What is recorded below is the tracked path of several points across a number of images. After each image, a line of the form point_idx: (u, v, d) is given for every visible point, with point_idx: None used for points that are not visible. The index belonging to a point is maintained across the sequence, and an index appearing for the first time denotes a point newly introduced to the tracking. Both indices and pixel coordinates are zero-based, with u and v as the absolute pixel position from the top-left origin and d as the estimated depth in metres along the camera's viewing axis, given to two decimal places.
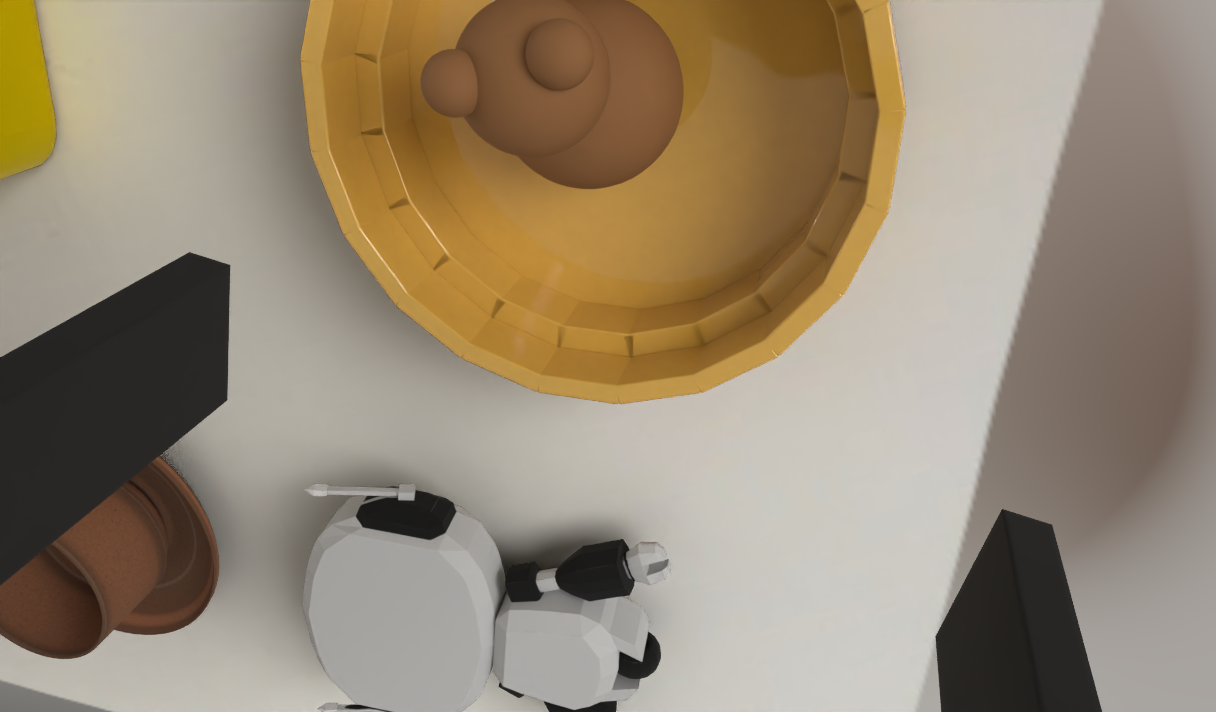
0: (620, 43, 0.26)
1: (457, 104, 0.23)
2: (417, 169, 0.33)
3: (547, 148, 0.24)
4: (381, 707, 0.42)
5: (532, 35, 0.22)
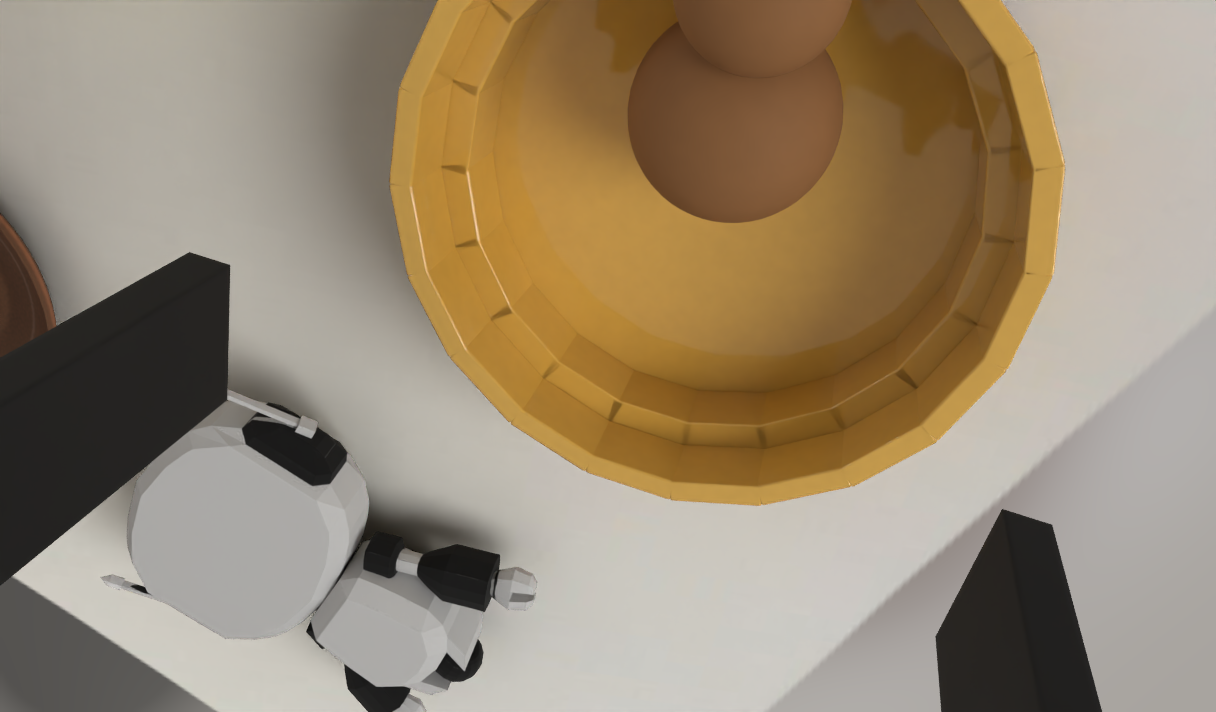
0: (823, 59, 0.24)
1: None
2: (485, 137, 0.29)
3: (756, 28, 0.20)
4: (174, 606, 0.39)
5: None
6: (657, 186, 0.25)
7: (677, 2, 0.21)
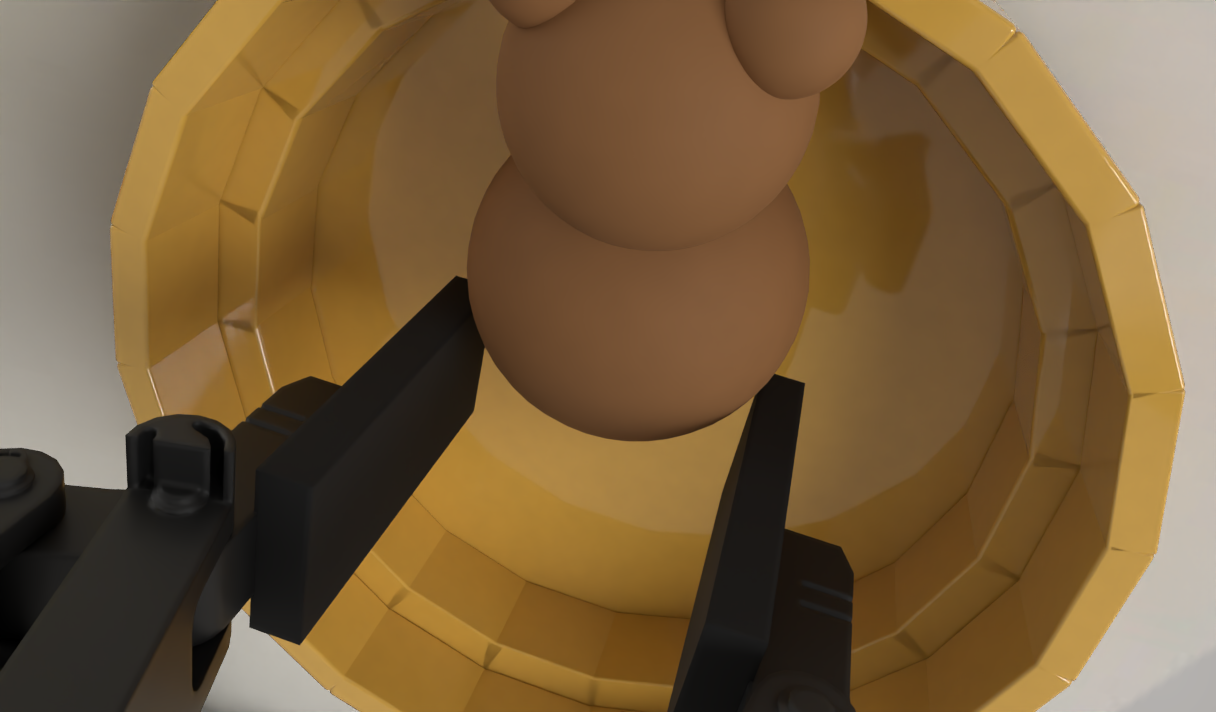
0: None
1: None
2: (290, 273, 0.20)
3: (633, 185, 0.11)
4: None
5: None
6: (514, 387, 0.16)
7: (502, 125, 0.12)
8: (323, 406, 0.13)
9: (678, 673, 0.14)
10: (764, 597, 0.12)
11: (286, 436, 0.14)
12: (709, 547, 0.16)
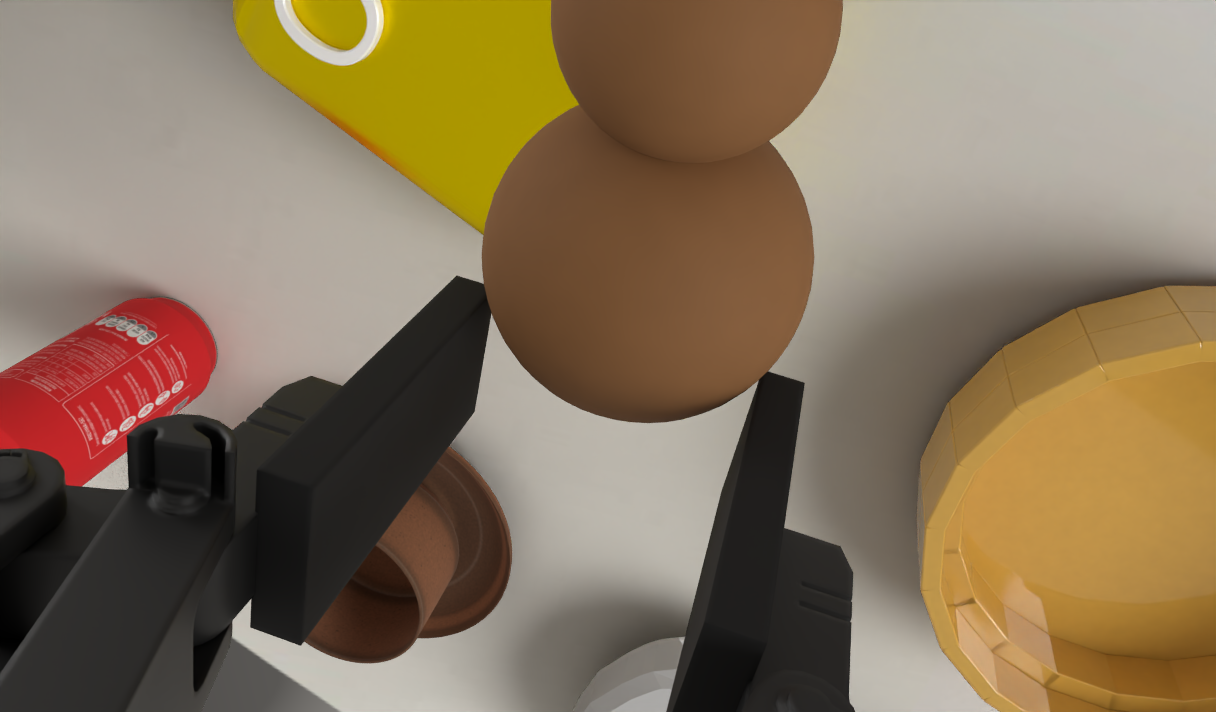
0: (784, 166, 0.15)
1: None
2: None
3: (689, 41, 0.12)
4: None
5: None
6: (524, 355, 0.16)
7: (557, 23, 0.13)
8: (324, 406, 0.13)
9: (677, 672, 0.14)
10: (763, 596, 0.12)
11: (287, 436, 0.14)
12: (708, 547, 0.16)
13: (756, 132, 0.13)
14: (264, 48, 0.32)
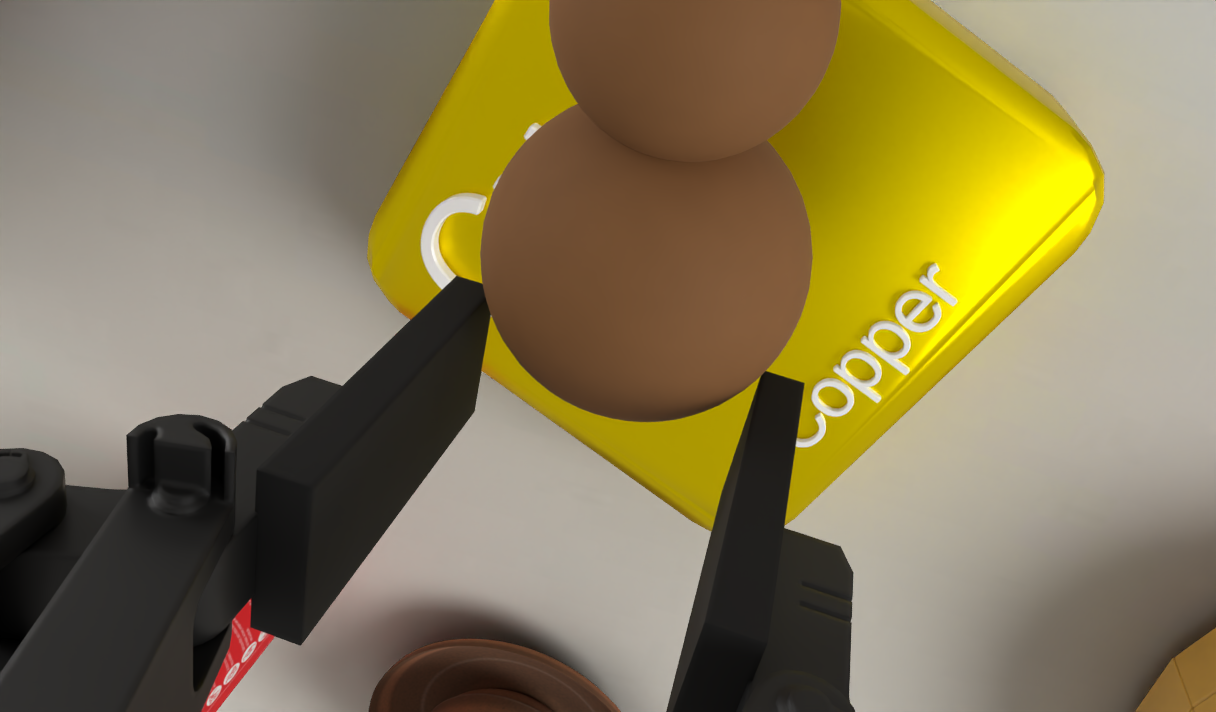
0: (783, 165, 0.15)
1: None
2: None
3: (687, 40, 0.12)
4: None
5: None
6: (522, 354, 0.16)
7: (555, 21, 0.13)
8: (324, 406, 0.13)
9: (678, 673, 0.14)
10: (763, 597, 0.12)
11: (286, 436, 0.14)
12: (708, 547, 0.16)
13: (754, 131, 0.13)
14: (404, 291, 0.28)
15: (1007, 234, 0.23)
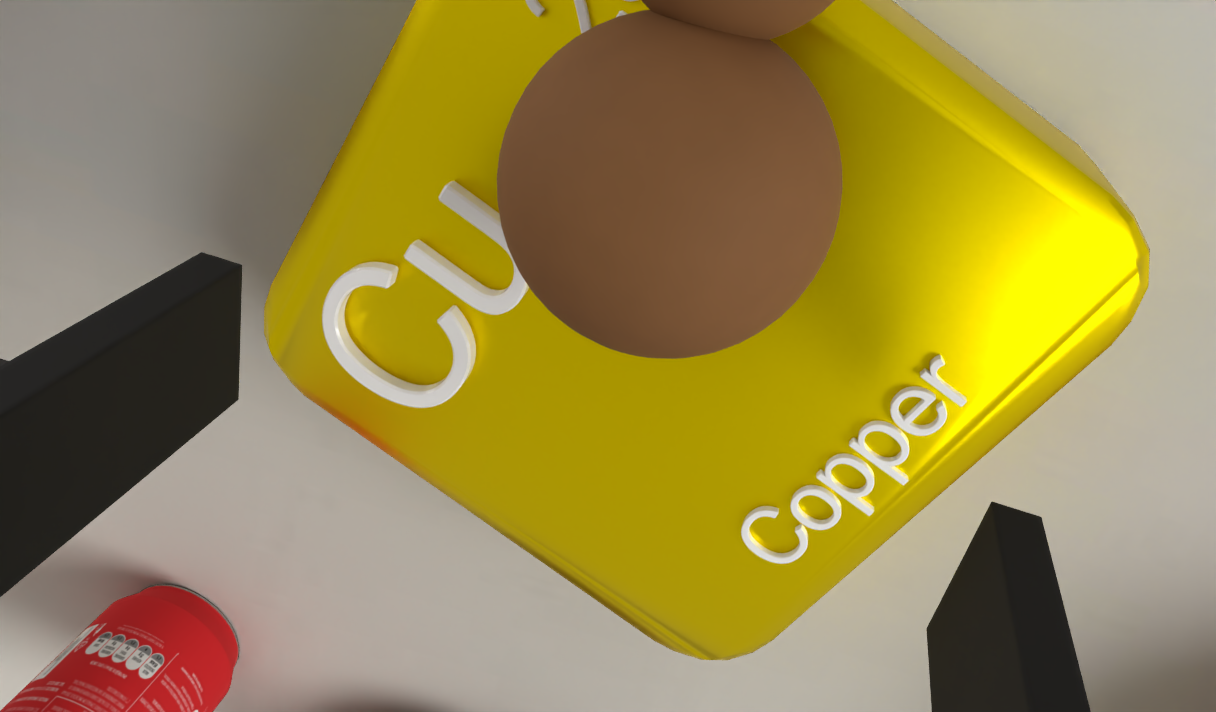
0: None
1: None
2: None
3: None
4: None
5: None
6: (549, 241, 0.14)
7: None
8: None
9: None
10: None
11: None
12: (940, 711, 0.14)
13: None
14: (307, 374, 0.24)
15: (1029, 323, 0.19)
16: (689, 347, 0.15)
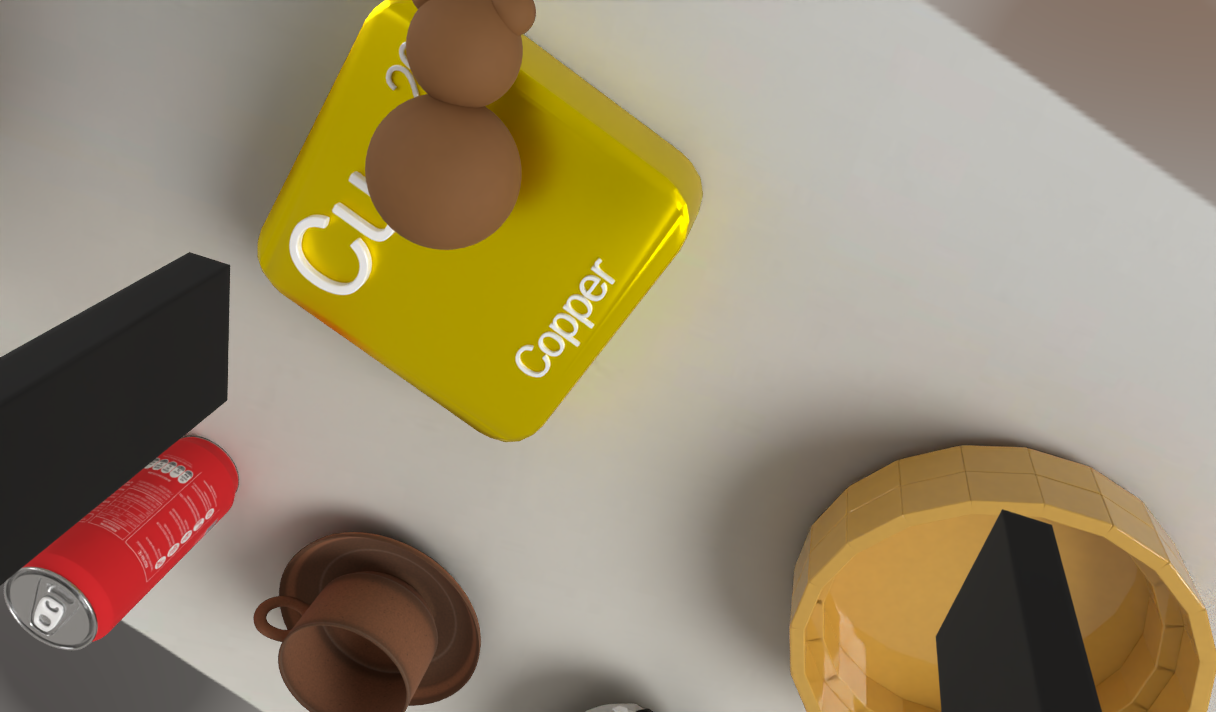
0: (506, 127, 0.35)
1: None
2: None
3: (458, 36, 0.32)
4: None
5: None
6: (383, 193, 0.33)
7: (408, 39, 0.33)
8: None
9: None
10: None
11: None
12: None
13: (486, 83, 0.33)
14: (281, 278, 0.43)
15: (637, 240, 0.38)
16: (448, 241, 0.34)
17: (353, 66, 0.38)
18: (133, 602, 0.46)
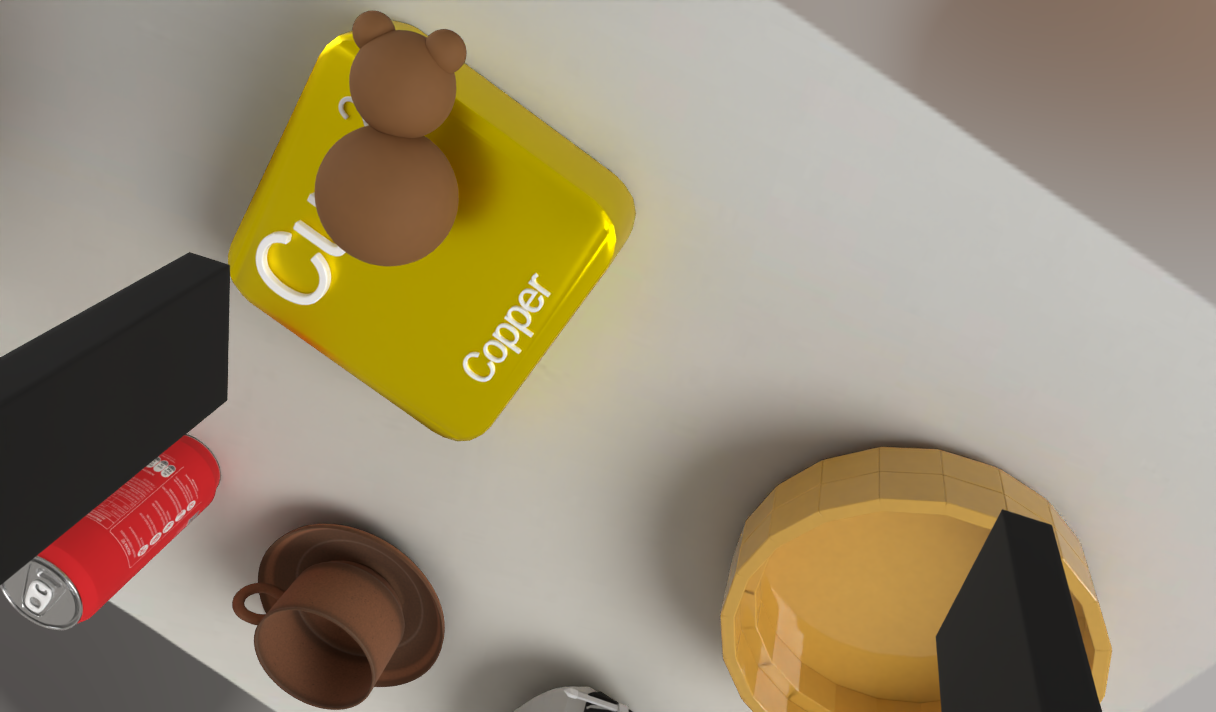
0: (444, 155, 0.38)
1: (374, 22, 0.36)
2: None
3: (393, 76, 0.35)
4: None
5: None
6: (328, 216, 0.37)
7: (350, 77, 0.36)
8: None
9: None
10: None
11: None
12: None
13: (420, 117, 0.36)
14: (250, 289, 0.46)
15: (569, 257, 0.41)
16: (389, 259, 0.38)
17: (309, 97, 0.41)
18: (117, 586, 0.50)
